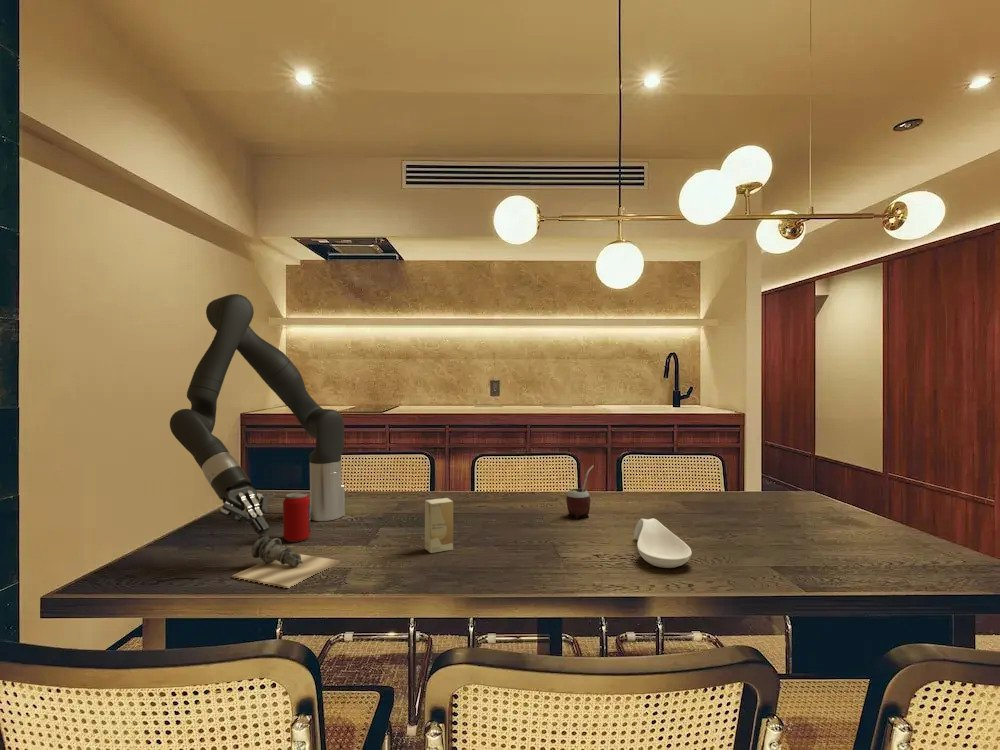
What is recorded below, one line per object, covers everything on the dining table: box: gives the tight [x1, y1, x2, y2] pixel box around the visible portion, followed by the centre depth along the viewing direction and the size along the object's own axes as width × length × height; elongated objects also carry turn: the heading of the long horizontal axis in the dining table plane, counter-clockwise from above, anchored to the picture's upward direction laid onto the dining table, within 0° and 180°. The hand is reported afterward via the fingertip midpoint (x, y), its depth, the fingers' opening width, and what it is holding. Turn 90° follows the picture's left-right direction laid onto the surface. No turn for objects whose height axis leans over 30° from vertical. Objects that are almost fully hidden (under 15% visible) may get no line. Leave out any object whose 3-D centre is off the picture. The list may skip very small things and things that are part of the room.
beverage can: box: [282, 491, 311, 543], centre depth 144 cm, size 7×7×12 cm
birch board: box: [231, 553, 341, 589], centre depth 122 cm, size 16×16×1 cm
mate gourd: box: [565, 465, 594, 521], centre depth 162 cm, size 8×8×15 cm
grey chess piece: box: [251, 534, 303, 567], centre depth 123 cm, size 6×6×12 cm
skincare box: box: [424, 497, 454, 554], centre depth 134 cm, size 6×4×12 cm
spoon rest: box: [633, 517, 693, 569], centre depth 128 cm, size 24×12×7 cm, turn 2°
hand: (264, 532), depth 124 cm, fingers closed
